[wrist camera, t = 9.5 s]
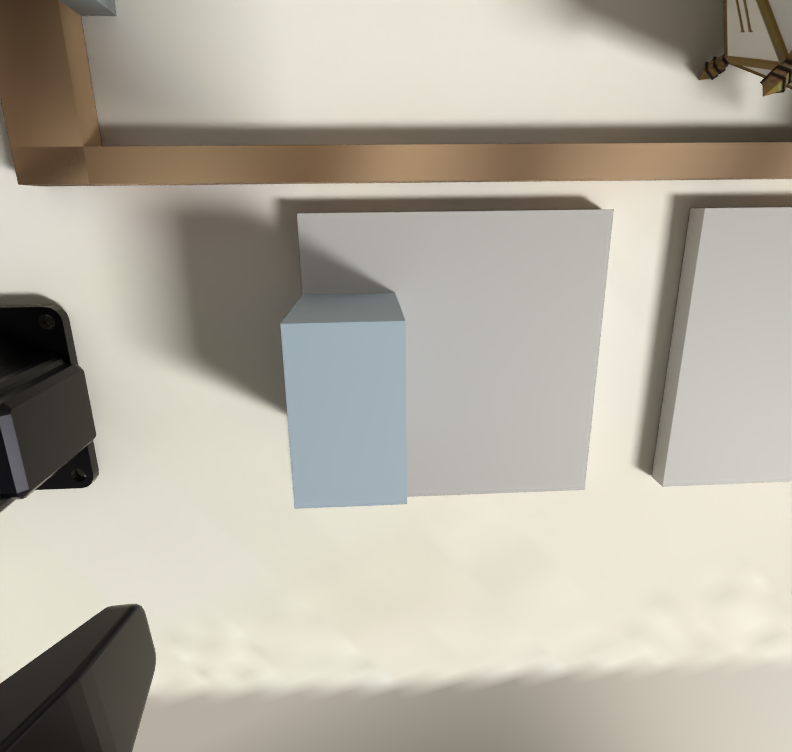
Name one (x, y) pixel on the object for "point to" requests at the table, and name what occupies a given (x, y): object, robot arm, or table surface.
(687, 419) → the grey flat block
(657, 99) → the table surface
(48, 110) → the wooden tray frame
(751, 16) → the game die
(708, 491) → the table surface
